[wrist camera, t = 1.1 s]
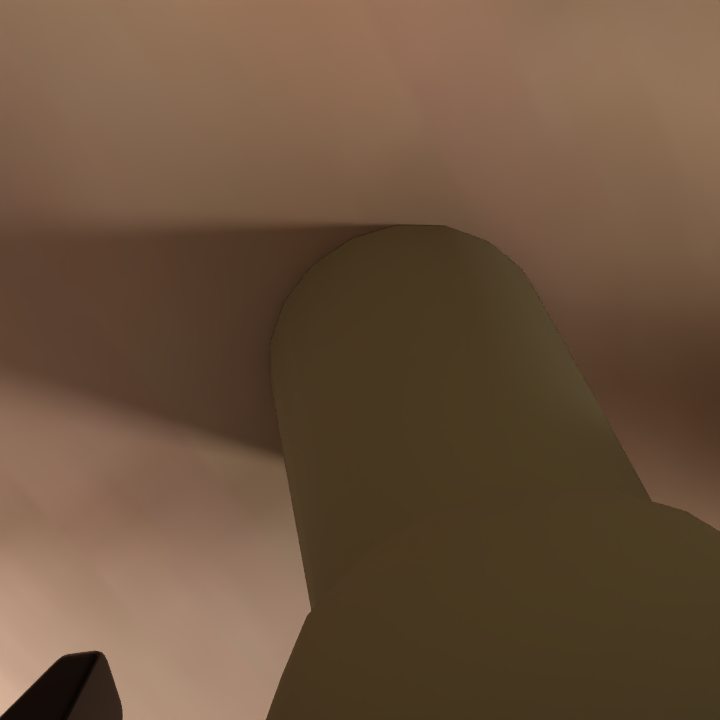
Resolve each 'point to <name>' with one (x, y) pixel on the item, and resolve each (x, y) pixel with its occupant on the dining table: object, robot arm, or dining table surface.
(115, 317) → the dining table surface
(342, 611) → the brown pawn
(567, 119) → the dining table surface
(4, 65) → the dining table surface
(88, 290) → the dining table surface
